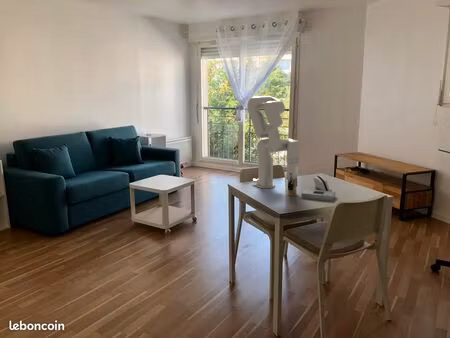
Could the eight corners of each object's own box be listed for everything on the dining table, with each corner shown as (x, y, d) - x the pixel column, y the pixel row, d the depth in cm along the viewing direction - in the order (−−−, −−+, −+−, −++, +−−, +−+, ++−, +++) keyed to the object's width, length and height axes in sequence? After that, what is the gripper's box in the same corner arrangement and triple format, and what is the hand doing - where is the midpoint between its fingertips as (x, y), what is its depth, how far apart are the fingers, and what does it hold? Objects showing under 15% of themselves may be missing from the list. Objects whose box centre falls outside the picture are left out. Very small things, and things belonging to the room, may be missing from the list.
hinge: (332, 192, 232) (328, 178, 230) (325, 195, 232) (321, 181, 230) (322, 185, 249) (318, 172, 246) (316, 188, 248) (311, 174, 246)
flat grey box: (301, 198, 222) (301, 193, 222) (305, 193, 231) (305, 189, 231) (332, 201, 215) (332, 196, 214) (335, 196, 224) (335, 191, 223)
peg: (288, 195, 229) (288, 179, 227) (290, 193, 232) (290, 177, 230) (294, 195, 227) (294, 179, 225) (296, 194, 231) (296, 178, 229)
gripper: (290, 157, 234) (290, 184, 238) (282, 162, 219) (282, 191, 223) (302, 158, 231) (301, 185, 235) (295, 163, 216) (294, 192, 220)
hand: (292, 188), depth 229 cm, fingers open, 8 cm apart
